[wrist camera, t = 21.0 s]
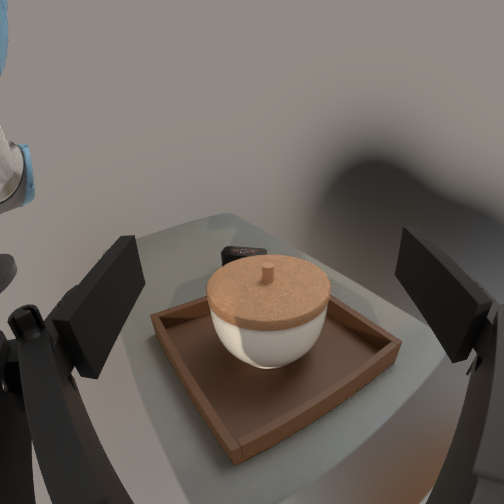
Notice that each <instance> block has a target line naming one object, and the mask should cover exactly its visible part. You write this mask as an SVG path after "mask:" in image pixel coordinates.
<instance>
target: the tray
mask: <svg viewBox="0 0 504 504" xmlns="http://www.w3.org/2000/svg"><path fill="white" fill-rule="evenodd" d="M150 316H151V320H152V323H153V327H154V329H155V333H156V335H157V337H158V339H159V341H160V343H161V345H162V347H163V349H164V351H165V353H166V355H167V357H168V359H169V361H170V362H171V364H172V366H173V368H174V370H175V372H176V373H177V375H178V377H179V379H180V381H181V382H182V384H183V386H184V388H185V389H186V391H187V393H188V395H189V396H190V398H191V400H192V401H193V403H194V405H195V406H196V408H197V410H198V411H199V413H200V415H201V416H202V418H203V419H204V421H205V423H206V424H207V426H208V427H209V429H210V430H211V432H212V433H213V435H214V437H215V438H216V440H217V441H218V443H219V444H220V446H221V447H222V449H223V450H224V451H225V453H226V454H227V456H228V457H229V459H230V460H231V462H232V463H233V464H234V465H237V464H239V463H241V462H243V461H245V460H247V459H249V458H251V457H253V456H255V455H257V454H259V453H260V452H262V451H264V450H266V449H268V448H270V447H271V446H273V445H275V444H277V443H279V442H280V441H282V440H284V439H286V438H287V437H289V436H291V435H292V434H294V433H296V432H297V431H299V430H301V429H302V428H304V427H305V426H307V425H309V424H310V423H312V422H313V421H315V420H316V419H318V418H320V417H321V416H323V415H324V414H326V413H327V412H329V411H330V410H331V409H333V408H334V407H336V406H337V405H339V404H340V403H342V402H343V401H344V400H346V399H347V398H349V397H350V396H351V395H353V394H354V393H355V392H357V391H358V390H359V389H361V388H362V387H363V386H365V385H366V384H367V383H369V382H370V381H371V380H372V379H374V378H375V377H376V376H377V375H379V374H380V373H381V372H382V371H384V370H385V369H386V368H387V367H388V366H390V365H391V364H392V363H393V362H394V361H395V360H396V357H397V355H398V352H399V349H400V346H401V343H402V341H401V340H399V339H398V338H396V337H395V336H393V335H392V334H390V333H389V332H387V331H386V330H384V329H383V328H381V327H379V326H378V325H376V324H375V323H373V322H372V321H370V320H369V319H367V318H366V317H364V316H363V315H361V314H359V313H358V312H356V311H355V310H353V309H352V308H350V307H349V306H347V305H346V304H344V303H343V302H341V301H339V300H338V299H336V298H335V297H333V296H332V295H330V299H329V302H328V306H327V313H326V318H325V321H324V325H323V328H322V331H321V333H320V335H319V337H318V339H317V341H316V342H315V344H314V345H313V347H312V348H311V349H310V350H309V351H308V352H307V353H306V354H304V355H303V356H302V357H301V358H299V359H297V360H296V361H294V362H291V363H289V364H288V365H286V366H283V367H280V368H275V369H263V368H258V367H255V366H252V365H250V364H248V363H246V362H243V361H241V360H240V359H238V358H237V357H235V356H234V355H233V354H232V353H230V352H229V351H228V349H227V348H226V347H225V346H224V345H223V343H222V342H221V340H220V338H219V336H218V334H217V332H216V330H215V327H214V324H213V320H212V316H211V311H210V306H209V304H208V300H207V296H205V297H202V298H199V299H196V300H193V301H190V302H187V303H185V304H182V305H179V306H176V307H173V308H170V309H167V310H164V311H161V312H158V313H155V314H152V315H150Z"/></svg>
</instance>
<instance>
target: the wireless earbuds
mask: <svg viewBox="0 0 504 504" xmlns="http://www.w3.org/2000/svg"><path fill="white" fill-rule="evenodd" d="M256 255H267V250H266V249H263V248H249V247H234V246H227V247H225V248H224V249H223V250H222V252H221V259H222V266H224V265H226V264H228V263H230V262H232V261H235V260H238V259H241V258H245V257H250V256H256Z"/></svg>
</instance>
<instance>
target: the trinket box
mask: <svg viewBox="0 0 504 504" xmlns="http://www.w3.org/2000/svg"><path fill="white" fill-rule="evenodd" d="M330 292H331V285H330V281H329V279H328V277H327V276H326V274H325V273H324V272H323V271H322V270H321V269H320V268H318V267H317V266H316V265H314V264H312V263H310V262H308V261H305V260H303V259H299V258H296V257H291V256H284V255H256V256H250V257H245V258H241V259H238V260H235V261H232V262H230V263H228V264H226V265H224V266H222V267H221V268H219V269H218V270H217V271H216V272H215V273H214V274H213V275H212V276H211V278H210V279H209V281H208V283H207V286H206V294H207V300H208V304H209V306H210V311H211V316H212V320H213V324H214V327H215V330H216V332H217V334H218V336H219V338H220V340H221V342H222V343H223V345H224V346H225V347H226V348H227V349H228V351H229V352H230V353H232V354H233V355H234V356H235V357H237V358H238V359H240V360H241V361H243V362H246V363H248V364H250V365H252V366H255V367H258V368H263V369H275V368H280V367H283V366H286V365H288V364H289V363H291V362H294V361H296V360H297V359H299V358H301V357H302V356H303V355H304V354H306V353H307V352H308V351H309V350H310V349H311V348H312V347H313V345H314V344H315V342H316V341H317V339H318V337H319V335H320V333H321V331H322V328H323V325H324V321H325V318H326V313H327V306H328V302H329V299H330Z"/></svg>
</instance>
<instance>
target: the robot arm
mask: <svg viewBox="0 0 504 504" xmlns="http://www.w3.org/2000/svg"><path fill="white" fill-rule="evenodd" d="M7 44H8V20H7V0H0V75H1V73H2V72H3V69H4V66H5V62H6V56H7ZM34 196H35V187H34V178H33V170H32V163H31V155H30V150H29V147H28V145H26V144H23V145H17V146H16V145H15V144H14V143H13V142H11V141H9V140H6V138H5V135H4V133H3V130H2V127H1V125H0V214H1V213H4V212H7V211H9V210H12V209H15V208H18V207H23V206H24V205H25V204H28V203H30V202H32V200H33V199H34ZM395 276H396V277H397V279H398V280H399V281H400V283H401V284H402V286H403V287H404V289H405V290H406V292H407V293H408V294H409V296H410V297H411V299H412V300H413V302H414V303H415V305H416V306H417V307H418V309H419V311H420V312H421V313H422V315H423V317H424V318H425V320H426V321H427V323H428V324H429V326H430V327H431V329H432V331H433V332H434V334H435V335H436V337H437V339H438V340H439V342H440V343H441V345H442V347H443V348H444V350H445V352H446V353H447V355H448V357H449V358H450V360H451V362H452V363H455V362H459V361H463V360H467V358H468V356H469V354H470V352H471V350H472V348H473V349H474V350H475V351H476V353H477V355H476V357H475V358H474V360H473V362H472V364H471V366H470V368H469V369H468V371H467V373H466V375H468V374H469V373H470V372H471V375H470V380H469V384H468V388H467V392H466V396H465V400H464V404H463V408H462V411H461V415H460V418H459V422H458V425H457V428H456V431H455V434H454V437H453V440H452V443H451V446H450V448H449V451H448V454H447V457H446V459H445V462H444V464H443V467H442V469H441V472H440V474H439V476H438V479H437V481H436V483H435V485H434V488H433V490H432V492H431V494H430V496H429V498H428V500H427V502H426V504H504V305H500V304H499V303H498V302H497V301H496V300H495V299H494V298H493V297H492V296H491V294H489V292H488V291H487V290H485V289H484V287H483V286H482V285H481V284H479V282H478V281H477V280H476V279H475V278H474V277H473V276H472V275H470V274H469V273H467V272H465V271H464V270H462V269H461V268H460V267H459V266H458V265H457V264H456V263H455V262H454V261H453V260H452V259H451V258H450V257H449V256H448V255H447V254H446V253H445V252H444V251H443V250H442V249H441V248H439V247H438V246H437V245H436V244H435V243H434V242H433V241H432V240H431V239H429V238H428V237H427V236H426V235H425V234H424V233H423V232H422V231H421V230H419V229H418V228H417V227H416V226H415V227H414V226H413V227H411V226H409V227H403V232H402V238H401V244H400V250H399V255H398V261H397V266H396V271H395ZM144 286H145V280H144V276H143V272H142V267H141V263H140V258H139V254H138V249H137V245H136V240H135V235H131V236H120V238H119V239H118V240H117V241H116V242H115V243H114V244H113V245H112V246H111V247H110V249H109V250H108V251H107V252H106V253H105V254H104V255H103V256H102V258H101V259H100V260H99V261H98V262H97V263H96V265H95V266H94V267H93V268H92V269H91V271H90V272H89V273H88V274H87V275H86V276H85V278H84V279H83V280H82V281H81V283H80V284H79V285H76V286H74V287H73V288H72V289H70V290H69V291H68V292H67V293H66V294H65V295H64V296H63V298H62V300H61V301H59V302H58V304H57V306H55V308H54V309H53V310H52V312H51V313H50V314H49V315H48V317H47V318H46V319H45V320H44V321H43V319H42V317H41V315H40V312H39V310H38V308H37V306H35V305H25V306H22V307H20V308H18V309H16V310H15V311H14V312H13V313H12V314H11V315H10V316H9V318H8V321H7V322H8V324H9V326H10V327H11V330H12V331H13V333H14V335H15V337H16V339H12V340H7V339H6V337H5V335H4V333H3V332H2V331H0V504H36V502H35V495H34V484H33V470H32V441H33V445H34V449H35V453H36V457H37V460H38V464H39V467H40V470H41V473H42V476H43V479H44V482H45V485H46V488H47V491H48V494H49V496H50V499H51V501H52V504H134V503H133V501H132V500H131V498H130V496H129V495H128V493H127V491H126V490H125V488H124V486H123V485H122V483H121V481H120V479H119V478H118V476H117V474H116V472H115V470H114V468H113V467H112V465H111V463H110V461H109V459H108V457H107V455H106V453H105V451H104V449H103V447H102V445H101V443H100V441H99V438H98V436H97V434H96V432H95V430H94V428H93V425H92V423H91V420H90V418H89V416H88V413H87V411H86V408H85V406H84V404H83V401H82V398H81V396H80V393H79V390H78V387H77V385H76V382H75V379H74V378H73V376H72V374H71V372H72V370H73V368H74V366H75V367H76V369H77V371H78V372H79V374H80V376H81V377H87V378H92V379H98V377H99V375H100V373H101V370H102V368H103V366H104V364H105V362H106V360H107V358H108V356H109V354H110V352H111V349H112V347H113V345H114V343H115V341H116V339H117V337H118V335H119V333H120V331H121V329H122V327H123V325H124V323H125V321H126V319H127V318H128V316H129V314H130V312H131V310H132V308H133V306H134V304H135V302H136V300H137V298H138V297H139V295H140V293H141V291H142V289H143V287H144ZM2 384H3V385H4V390H3V386H2Z"/></svg>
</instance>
